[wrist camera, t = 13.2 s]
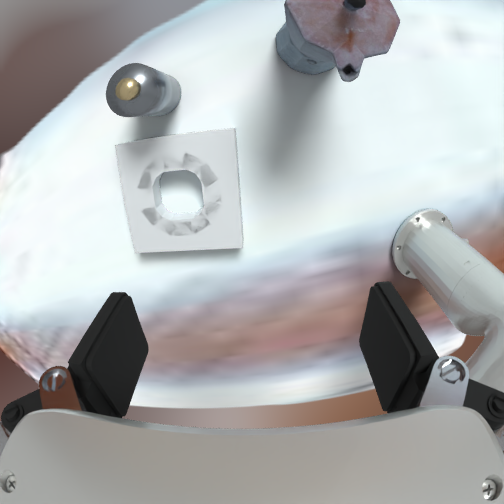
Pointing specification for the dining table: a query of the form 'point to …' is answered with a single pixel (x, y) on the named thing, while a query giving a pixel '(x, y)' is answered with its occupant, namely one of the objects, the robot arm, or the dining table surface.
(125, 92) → the end cover
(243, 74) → the dining table surface
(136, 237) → the housing
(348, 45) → the moka pot
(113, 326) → the robot arm
